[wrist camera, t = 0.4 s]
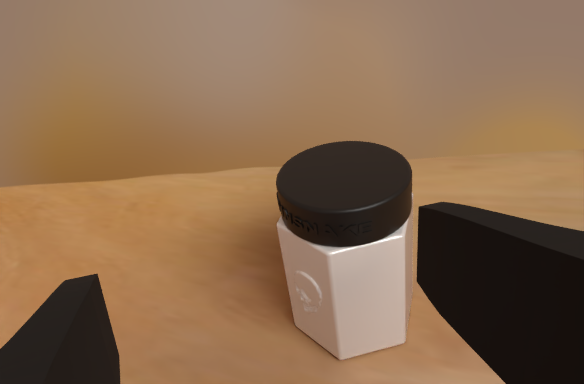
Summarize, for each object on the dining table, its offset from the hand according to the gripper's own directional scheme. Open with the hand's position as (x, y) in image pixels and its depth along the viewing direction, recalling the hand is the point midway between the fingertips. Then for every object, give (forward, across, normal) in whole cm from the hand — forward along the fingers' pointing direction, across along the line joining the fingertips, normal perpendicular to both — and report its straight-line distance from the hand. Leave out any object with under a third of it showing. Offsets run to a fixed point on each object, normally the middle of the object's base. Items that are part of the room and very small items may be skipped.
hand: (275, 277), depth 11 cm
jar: (+18, -10, +16) cm, 26 cm away
